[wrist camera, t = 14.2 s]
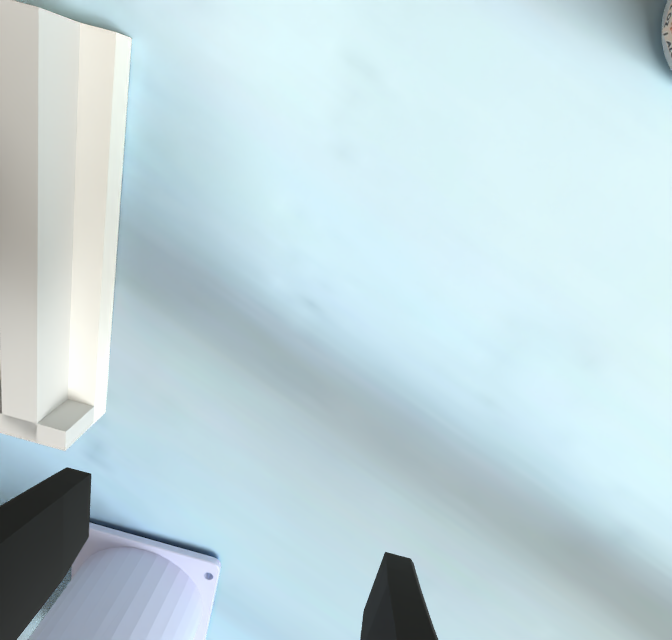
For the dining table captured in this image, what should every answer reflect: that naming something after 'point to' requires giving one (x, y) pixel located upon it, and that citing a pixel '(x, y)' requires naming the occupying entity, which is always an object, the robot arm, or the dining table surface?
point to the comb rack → (58, 218)
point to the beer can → (667, 32)
